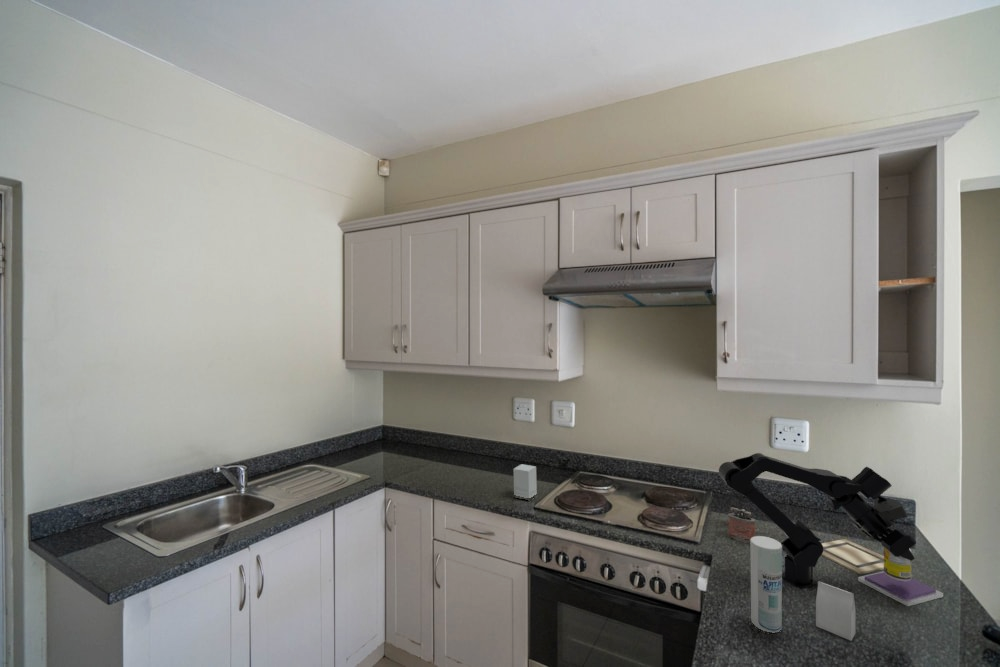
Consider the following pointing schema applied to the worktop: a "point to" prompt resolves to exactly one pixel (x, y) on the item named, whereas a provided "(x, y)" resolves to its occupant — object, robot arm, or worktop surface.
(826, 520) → the worktop surface
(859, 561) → the board
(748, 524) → the lighter
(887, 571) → the supplement bottle
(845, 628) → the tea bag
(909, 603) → the ink pad
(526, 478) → the supplement box
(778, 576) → the spray can
